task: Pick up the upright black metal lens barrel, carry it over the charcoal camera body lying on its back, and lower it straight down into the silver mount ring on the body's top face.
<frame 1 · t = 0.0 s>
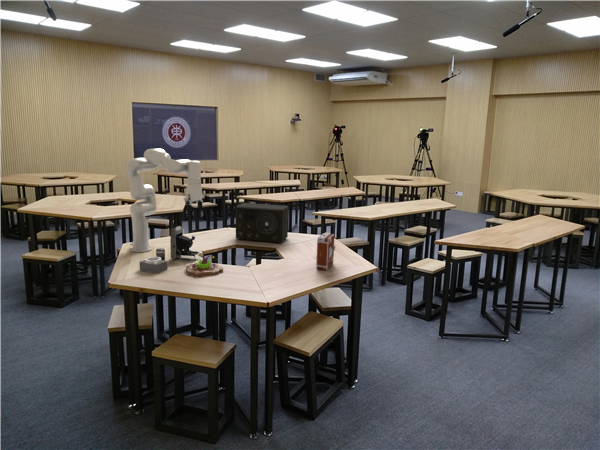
hand: (194, 210, 266), 31 cm above the table, fingers open, 9 cm apart
lens: (160, 262, 267), on the table
vintage radio: (260, 239, 330), on the table
vintage camera: (185, 258, 276), on the table
cine camera: (325, 266, 270), on the table
plant: (203, 272, 253), on the table
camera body: (153, 269, 253), on the table
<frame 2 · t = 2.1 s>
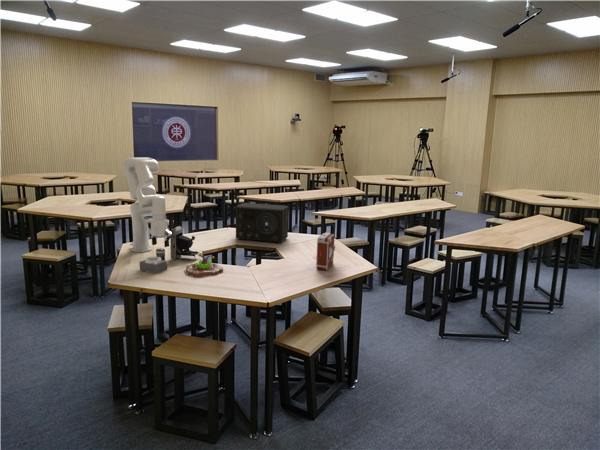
hand: (160, 245, 264), 10 cm above the table, fingers open, 9 cm apart
nothing on the table moved.
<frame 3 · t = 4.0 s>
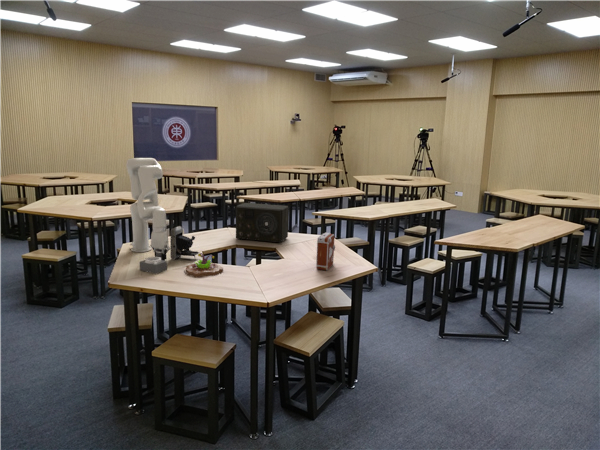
hand: (160, 258, 267), 2 cm above the table, fingers closed on lens, 5 cm apart
lens: (160, 262, 267), on the table, touching gripper
everything else where it was.
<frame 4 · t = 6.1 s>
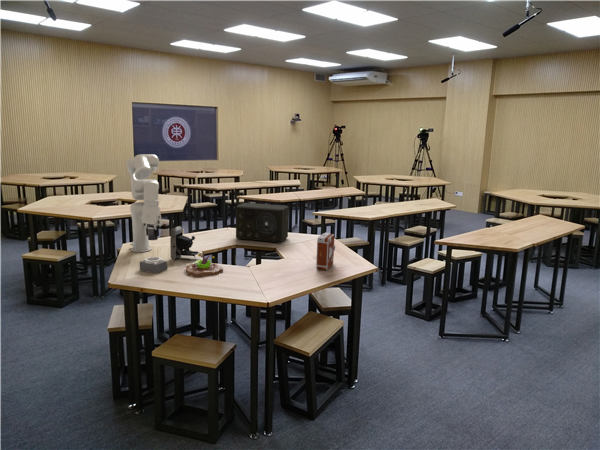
hand: (152, 235, 249), 20 cm above the table, fingers closed on lens, 5 cm apart
lens: (152, 239, 250), point 18 cm above the table, touching gripper
everything else where it was.
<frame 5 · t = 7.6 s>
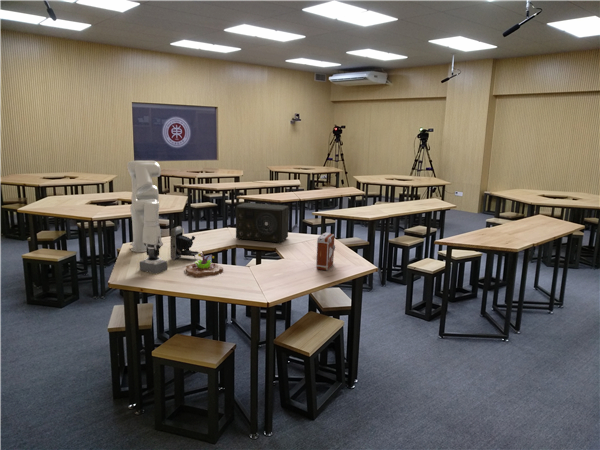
hand: (153, 255, 251), 9 cm above the table, fingers closed on lens, 5 cm apart
lens: (153, 258, 251), point 7 cm above the table, touching gripper
everything else where it was.
when the fingers open (8 cm above the table, at t = 8.6 s): lens stays where it is, resting on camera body.
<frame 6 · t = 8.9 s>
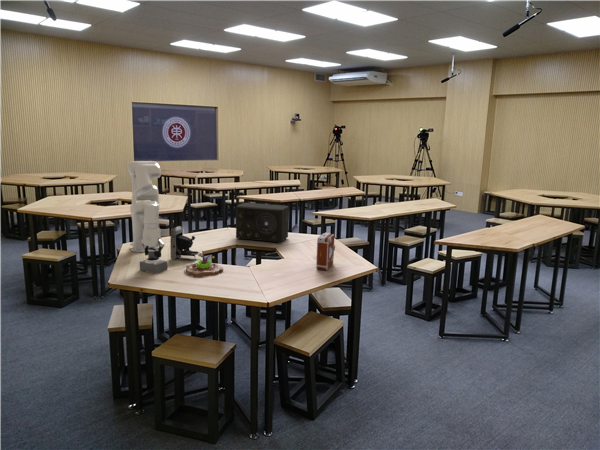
hand: (153, 256, 251), 8 cm above the table, fingers open, 8 cm apart
lens: (153, 261, 252), point 5 cm above the table, touching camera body
everything else where it was.
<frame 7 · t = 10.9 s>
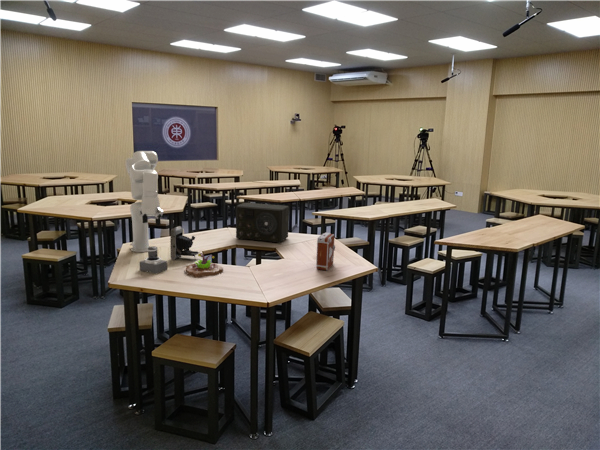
hand: (151, 223, 251), 26 cm above the table, fingers open, 9 cm apart
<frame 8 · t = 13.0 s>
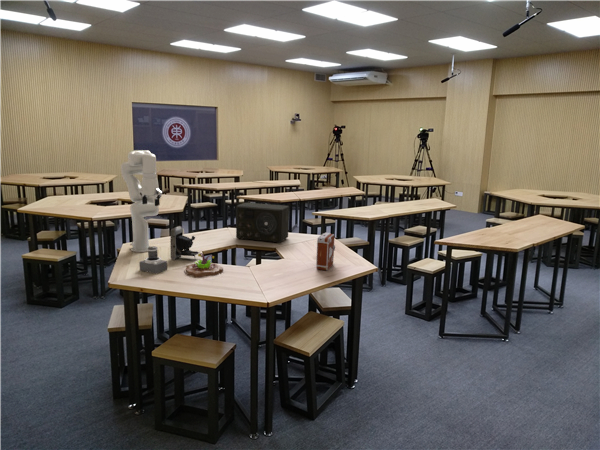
hand: (151, 204, 263), 34 cm above the table, fingers open, 9 cm apart
at the end: lens 0.1 cm off-centre on the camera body, point 5.1 cm above the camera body's base; lens tilted 1°; the gripper is holding nothing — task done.
